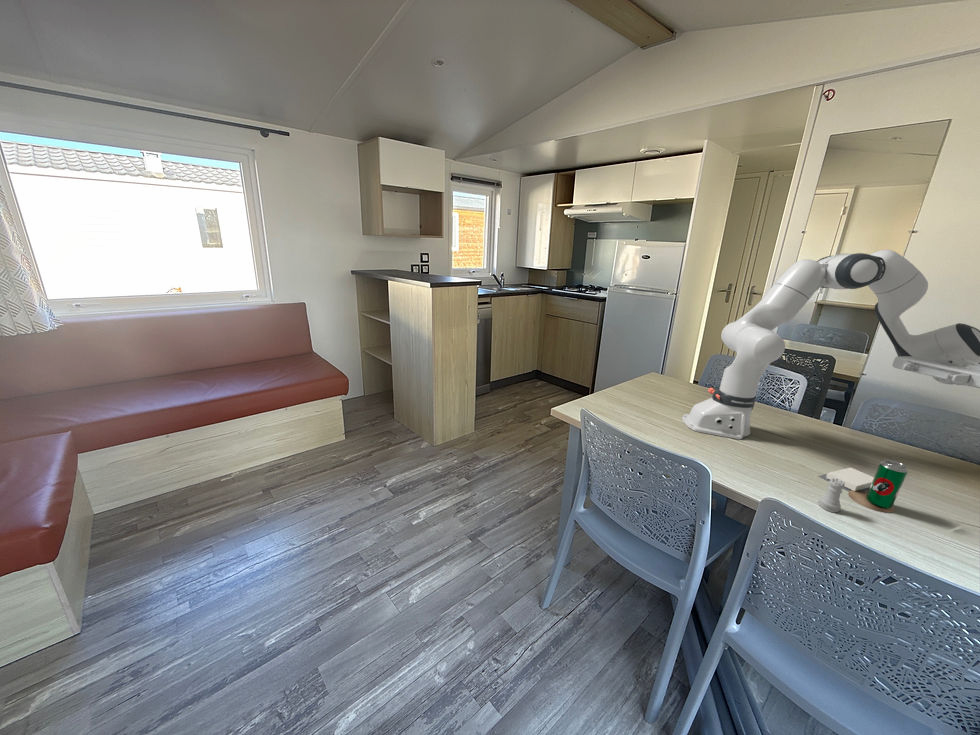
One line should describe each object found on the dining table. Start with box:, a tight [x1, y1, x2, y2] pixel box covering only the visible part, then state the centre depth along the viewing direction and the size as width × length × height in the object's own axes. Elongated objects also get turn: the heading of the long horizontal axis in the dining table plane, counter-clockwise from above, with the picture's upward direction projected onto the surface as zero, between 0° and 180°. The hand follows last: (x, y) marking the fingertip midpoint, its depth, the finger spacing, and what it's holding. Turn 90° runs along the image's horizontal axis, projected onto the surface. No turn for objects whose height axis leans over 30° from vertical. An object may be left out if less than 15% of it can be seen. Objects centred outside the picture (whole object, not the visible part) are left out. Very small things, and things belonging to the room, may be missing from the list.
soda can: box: [866, 458, 909, 509], centre depth 98 cm, size 5×5×12 cm
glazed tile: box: [826, 467, 874, 491], centre depth 110 cm, size 2×7×11 cm
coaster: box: [847, 490, 896, 514], centre depth 101 cm, size 9×9×1 cm
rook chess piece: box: [817, 478, 845, 513], centre depth 98 cm, size 4×4×8 cm
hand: (927, 372), depth 109 cm, fingers open, 8 cm apart
